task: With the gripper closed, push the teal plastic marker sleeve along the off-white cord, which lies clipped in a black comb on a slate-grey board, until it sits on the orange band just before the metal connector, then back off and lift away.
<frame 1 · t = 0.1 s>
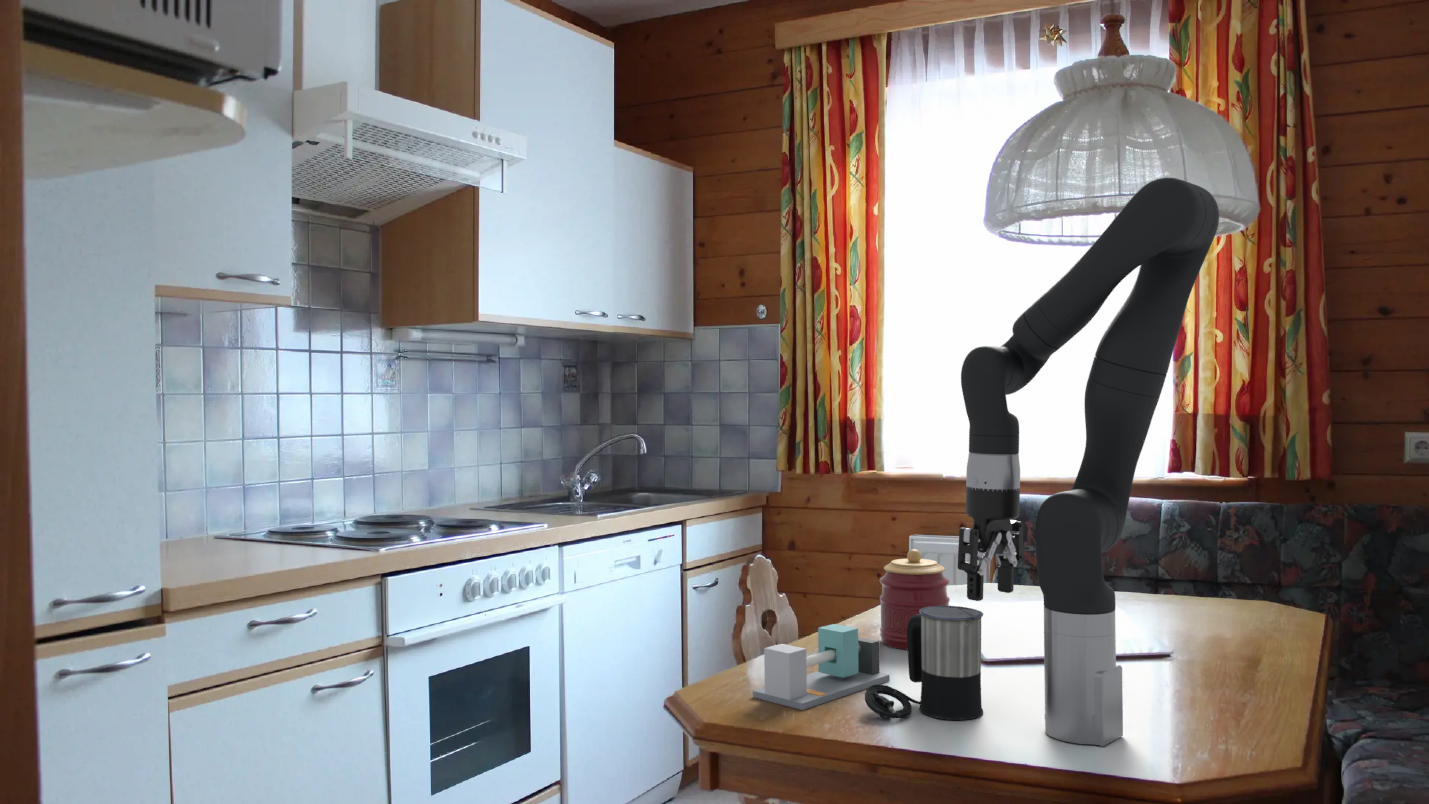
hand: (990, 595, 152), 17 cm above the table, tool pointing down, fingers open, 8 cm apart
canister: (915, 644, 197), on the table
sleeve: (838, 650, 169), point 5 cm above the table, slide at 0.0 cm
milk frother: (924, 714, 153), on the table
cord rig: (823, 688, 166), on the table
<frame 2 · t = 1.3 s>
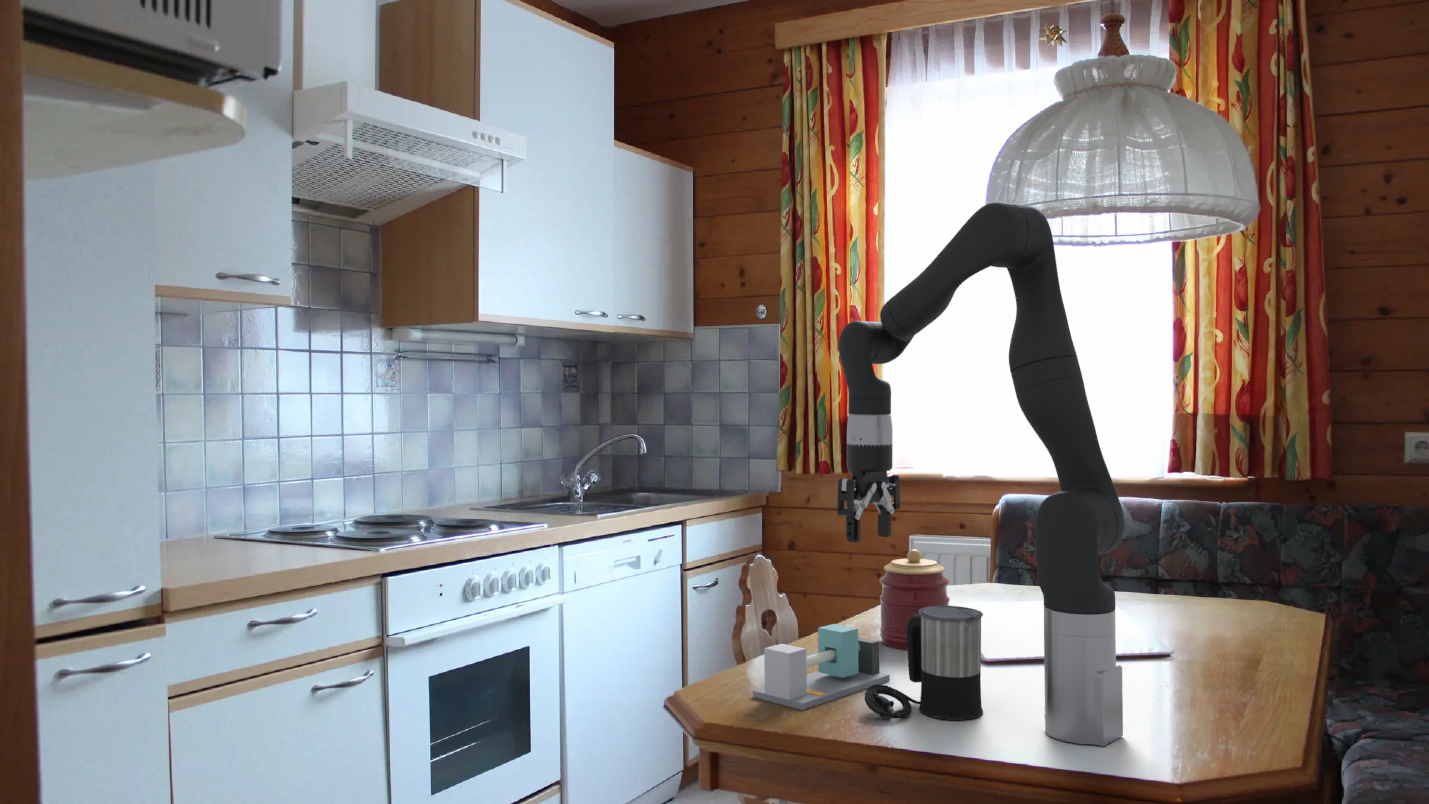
hand: (869, 539, 174), 23 cm above the table, tool pointing down, fingers open, 8 cm apart
nothing on the table moved.
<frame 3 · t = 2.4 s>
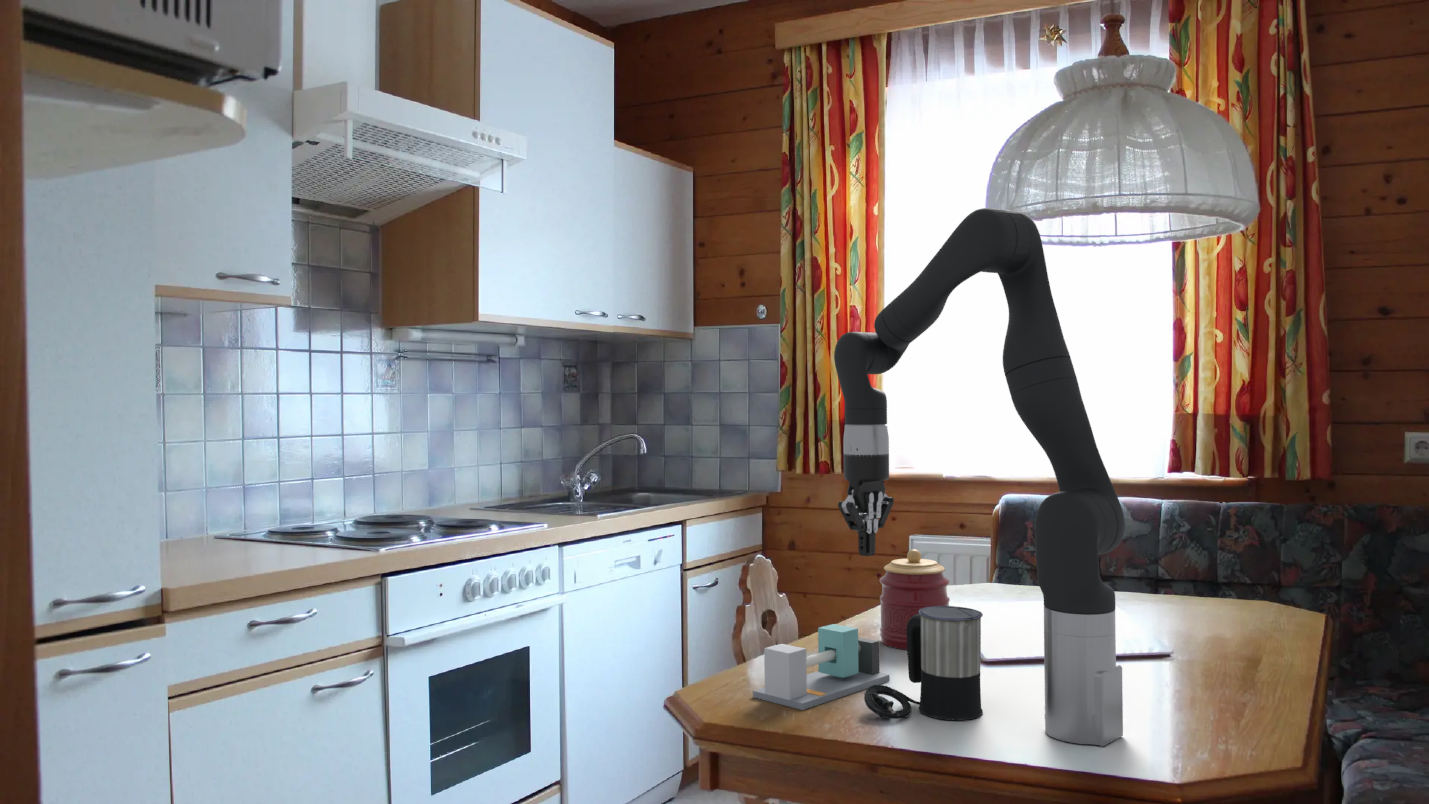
hand: (867, 555, 175), 20 cm above the table, tool pointing down, fingers closed
nothing on the table moved.
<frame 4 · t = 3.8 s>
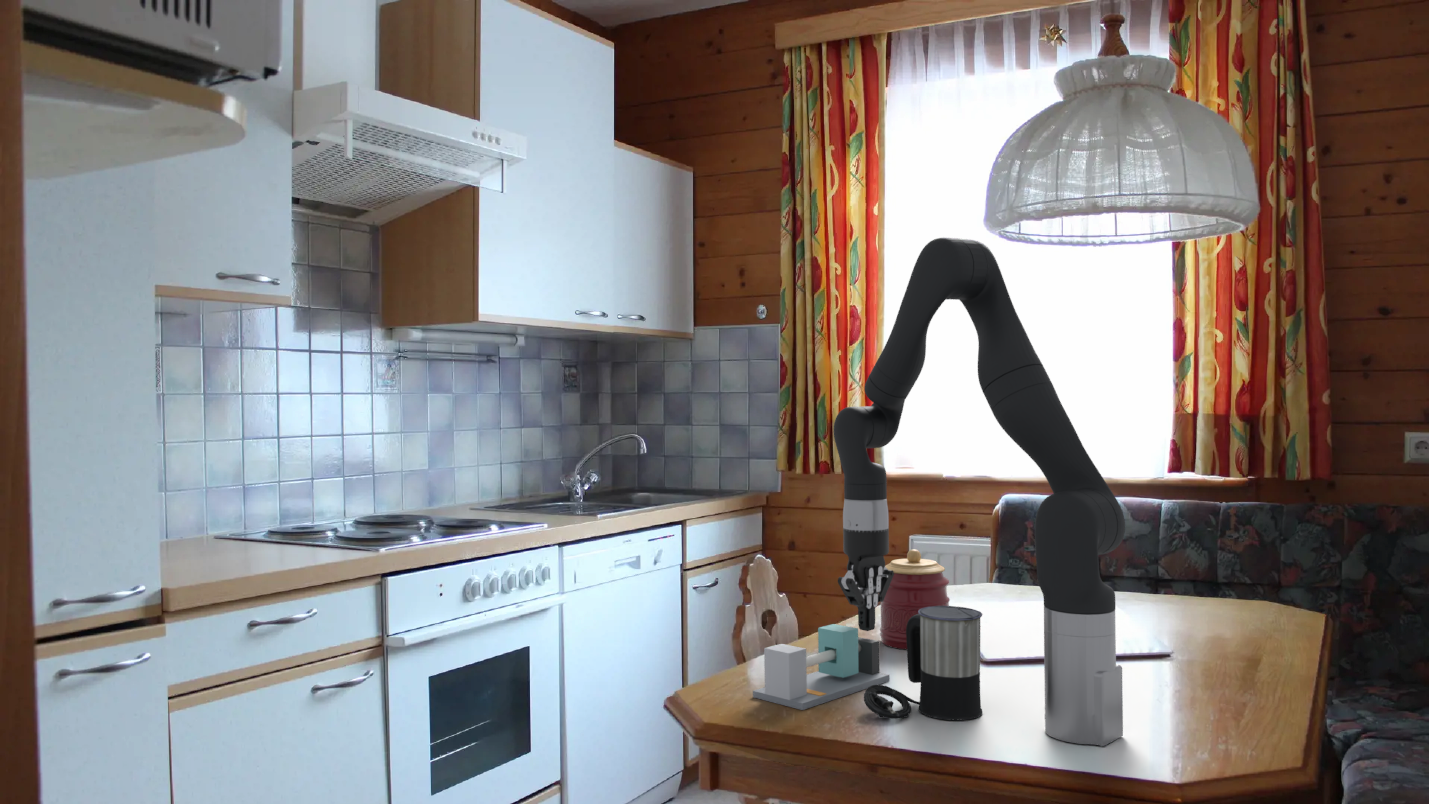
hand: (867, 629, 175), 8 cm above the table, tool pointing down, fingers closed
nothing on the table moved.
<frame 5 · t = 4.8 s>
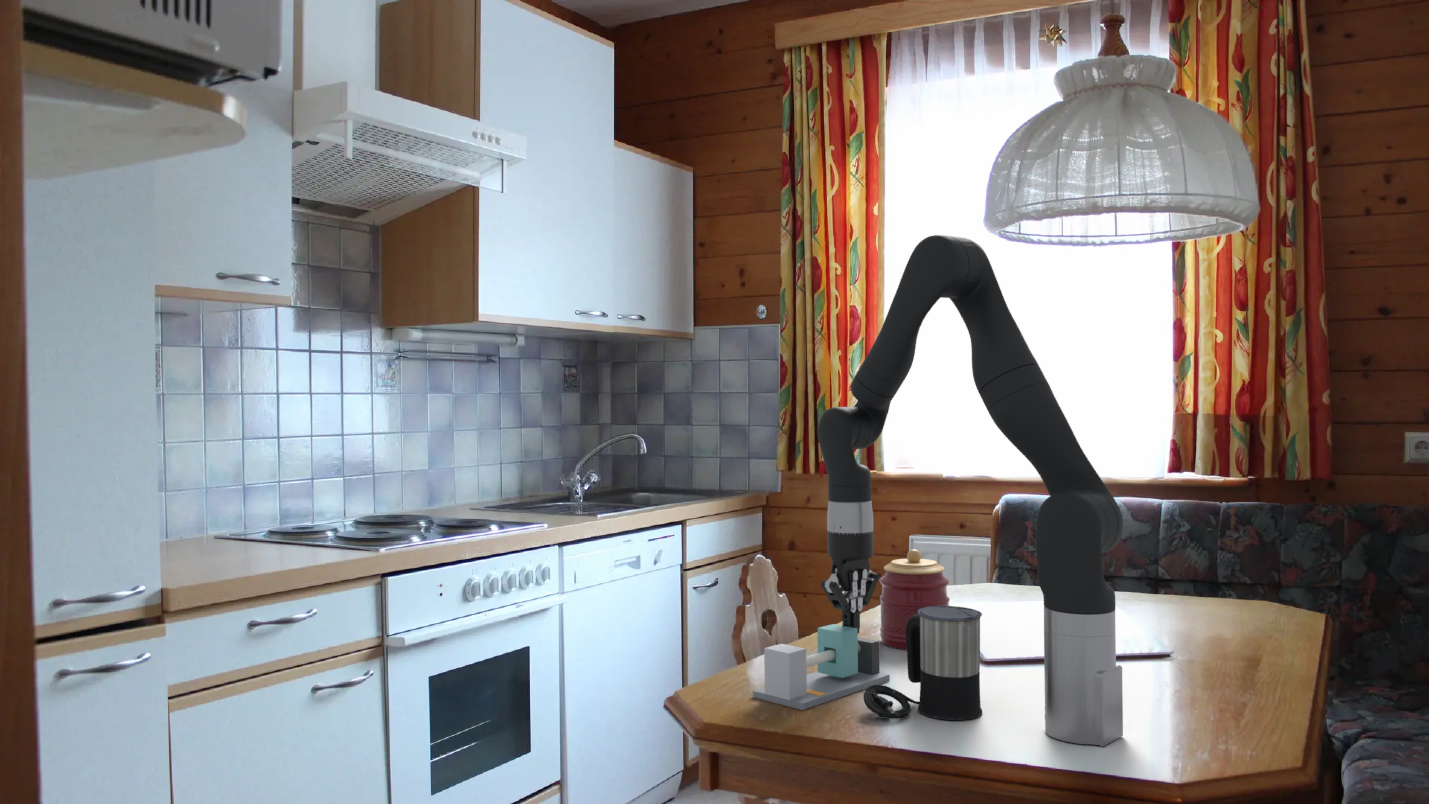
hand: (851, 633, 172), 7 cm above the table, tool pointing down, fingers closed
sleeve: (837, 650, 169), point 5 cm above the table, slide at 0.2 cm, touching gripper
everything else where it was.
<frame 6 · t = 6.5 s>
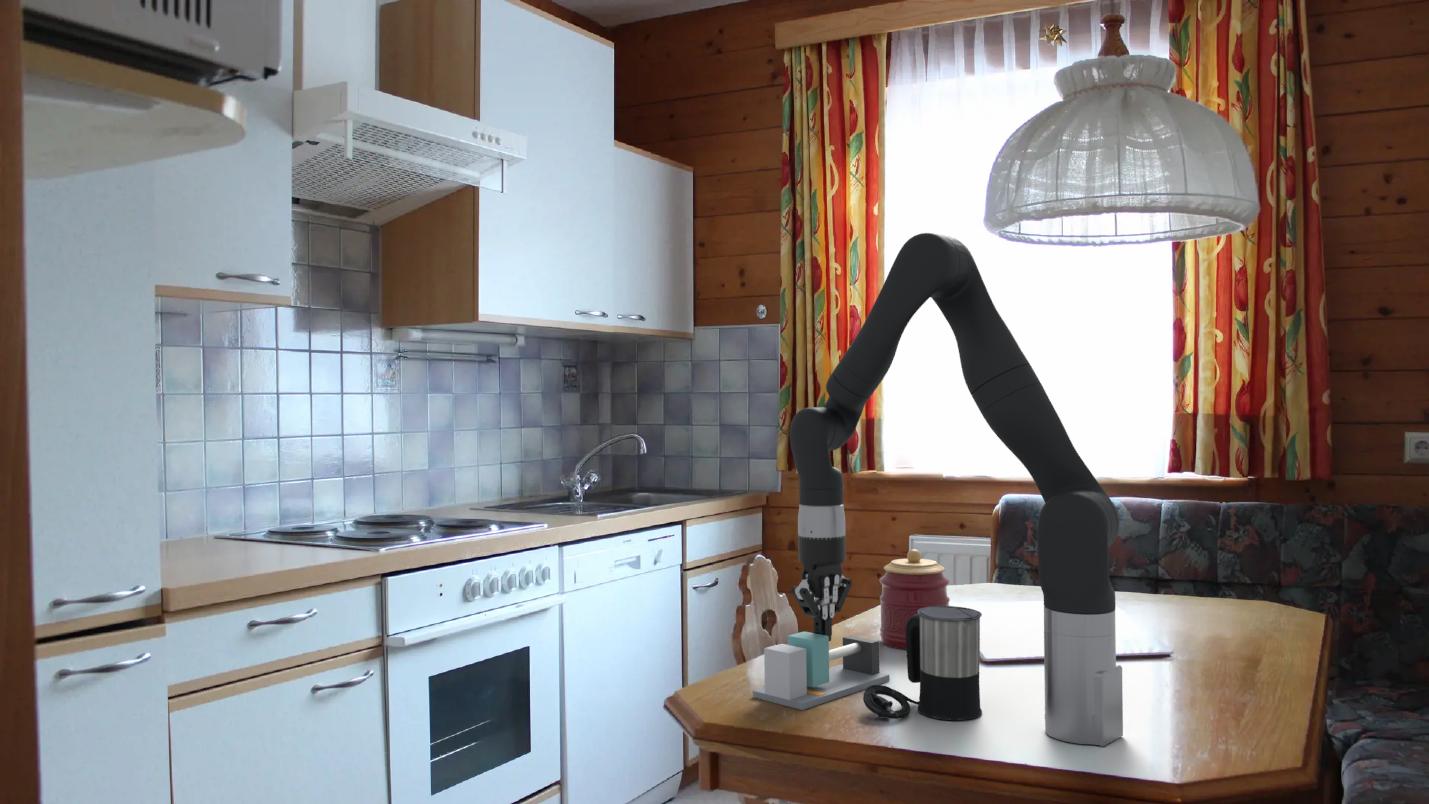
hand: (823, 641, 166), 8 cm above the table, tool pointing down, fingers closed
sleeve: (808, 658, 164), point 5 cm above the table, slide at 7.5 cm, touching gripper
everything else where it was.
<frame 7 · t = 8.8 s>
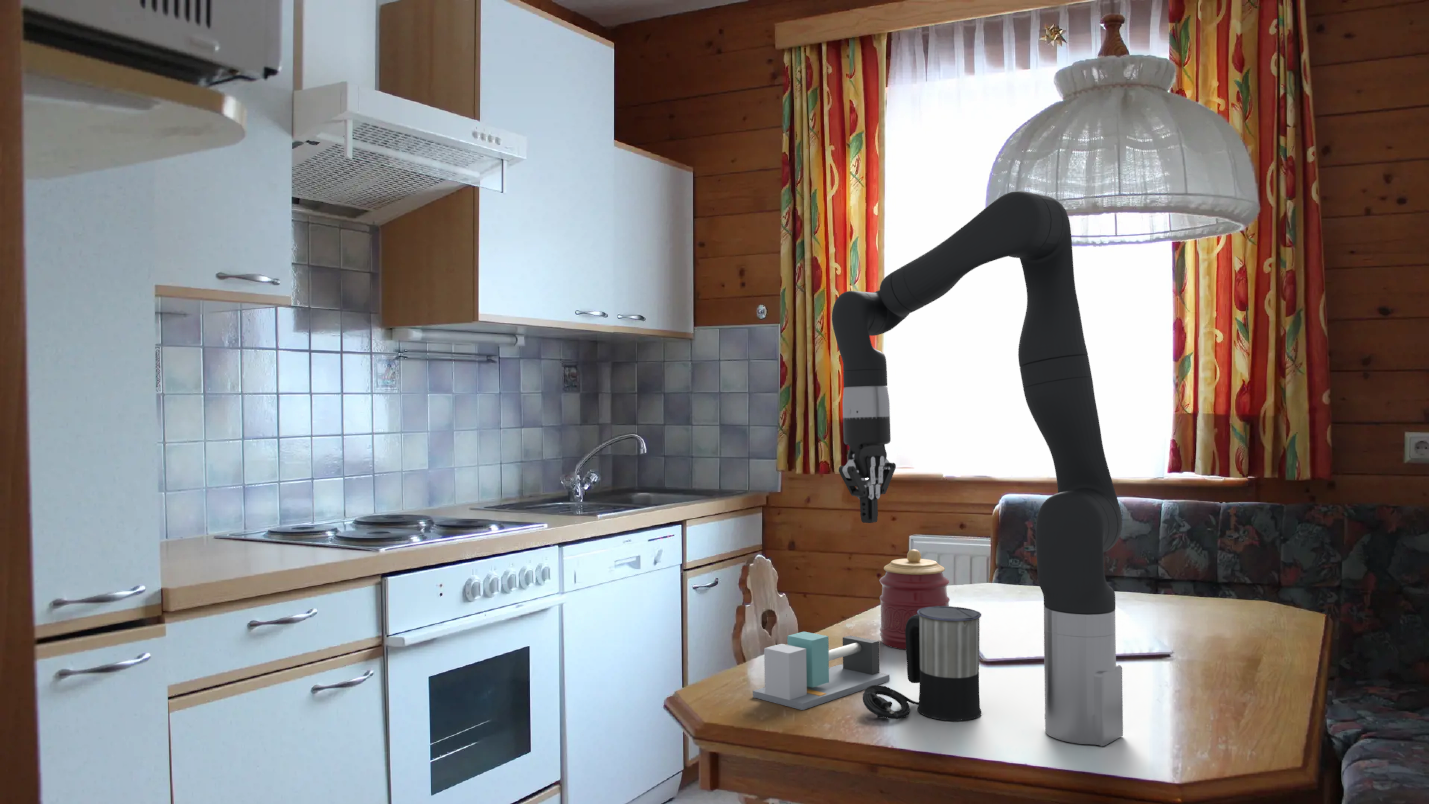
hand: (869, 522, 169), 26 cm above the table, tool pointing down, fingers closed
sleeve: (808, 658, 164), point 5 cm above the table, slide at 7.6 cm
everything else where it was.
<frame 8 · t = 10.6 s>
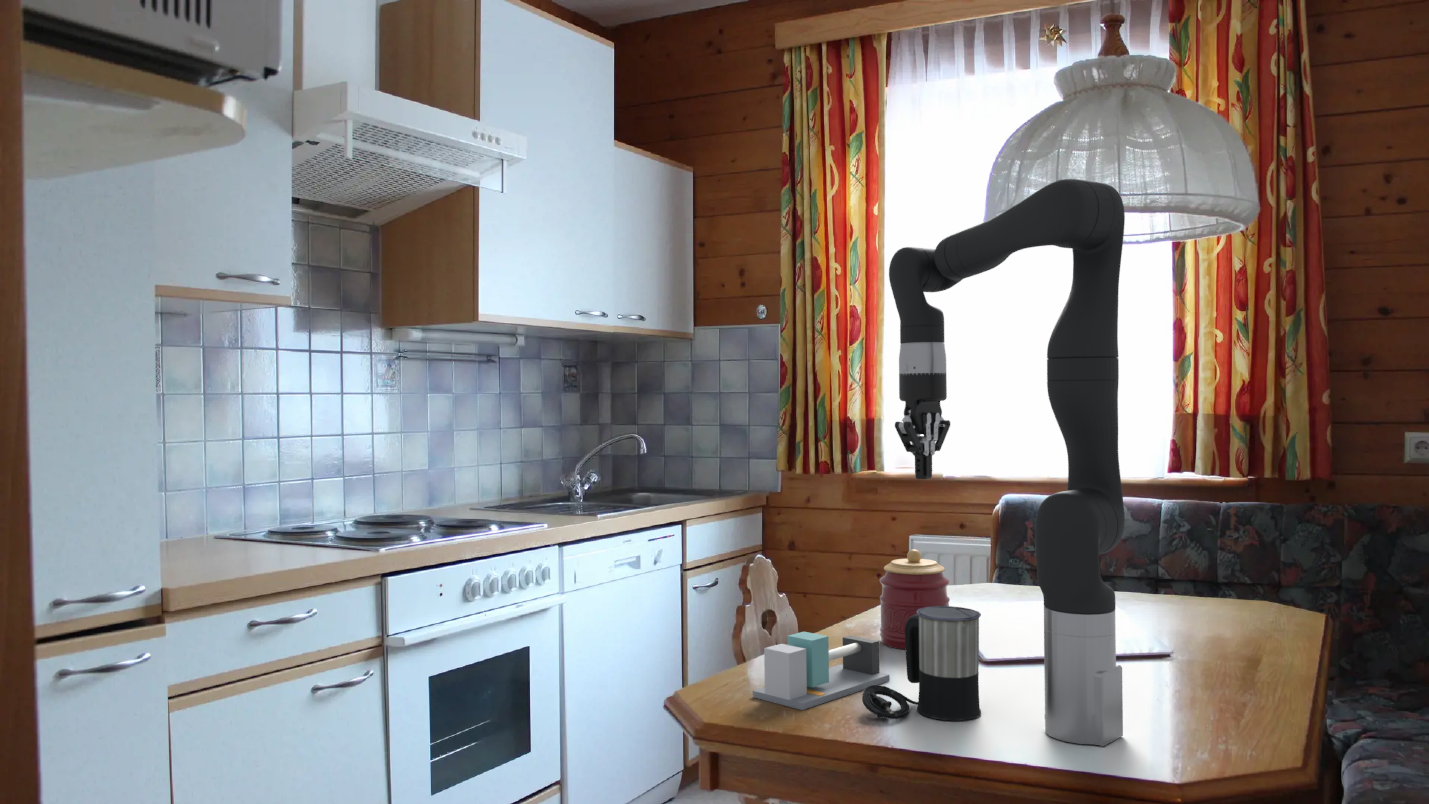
hand: (923, 478, 169), 33 cm above the table, tool pointing down, fingers closed
nothing on the table moved.
at the end: sleeve slide at 7.6 cm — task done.
